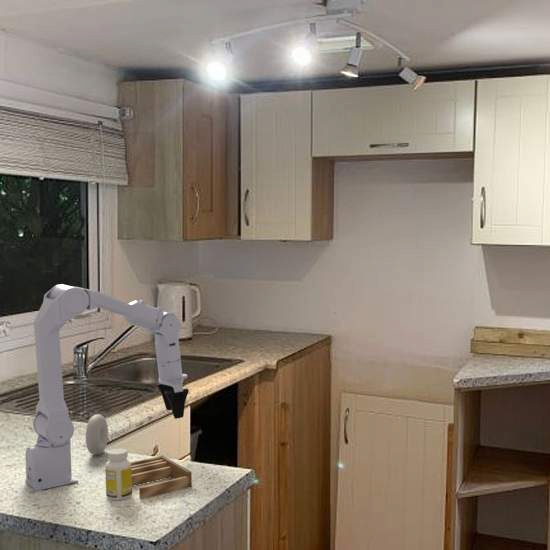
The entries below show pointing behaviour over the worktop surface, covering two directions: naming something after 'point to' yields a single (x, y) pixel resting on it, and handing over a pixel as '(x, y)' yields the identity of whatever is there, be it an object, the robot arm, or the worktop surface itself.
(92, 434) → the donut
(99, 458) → the worktop surface
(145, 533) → the worktop surface
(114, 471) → the supplement bottle
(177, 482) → the wooden slatted frame
